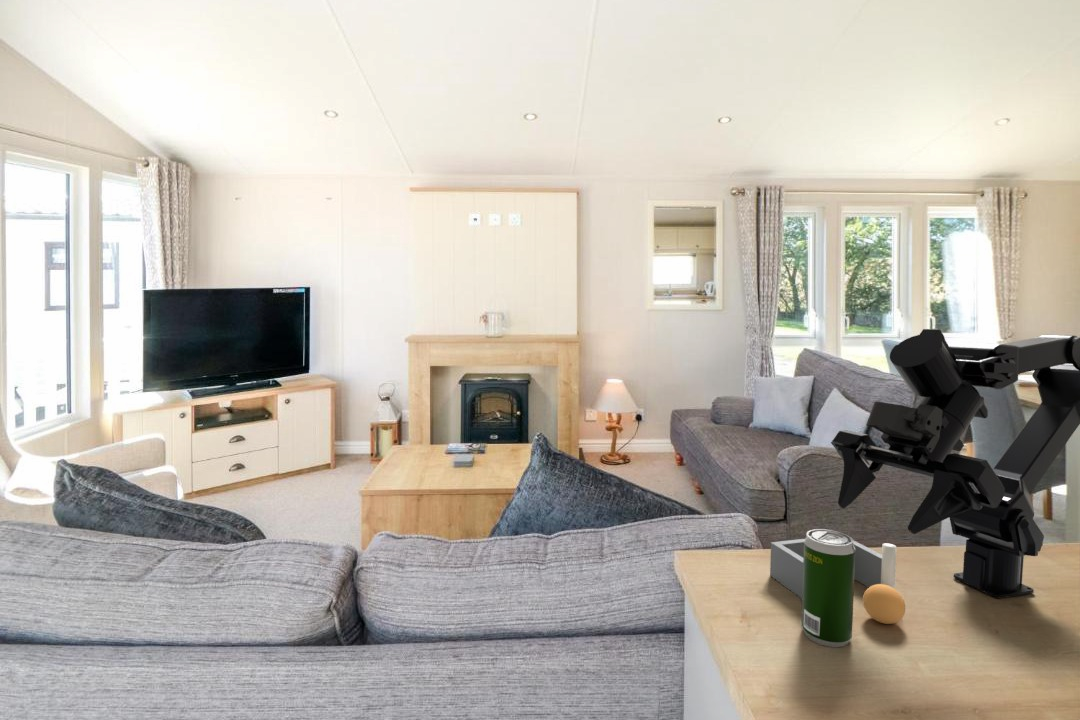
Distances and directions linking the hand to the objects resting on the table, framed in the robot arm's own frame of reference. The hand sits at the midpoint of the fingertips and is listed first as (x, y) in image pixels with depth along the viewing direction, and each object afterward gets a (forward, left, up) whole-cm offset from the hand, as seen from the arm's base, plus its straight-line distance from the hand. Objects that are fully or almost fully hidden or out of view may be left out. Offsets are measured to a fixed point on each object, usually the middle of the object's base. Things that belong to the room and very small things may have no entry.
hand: (873, 518), depth 69 cm
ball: (-2, 0, -13) cm, 13 cm away
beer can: (+7, +1, -13) cm, 15 cm away
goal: (-2, -9, -13) cm, 16 cm away
